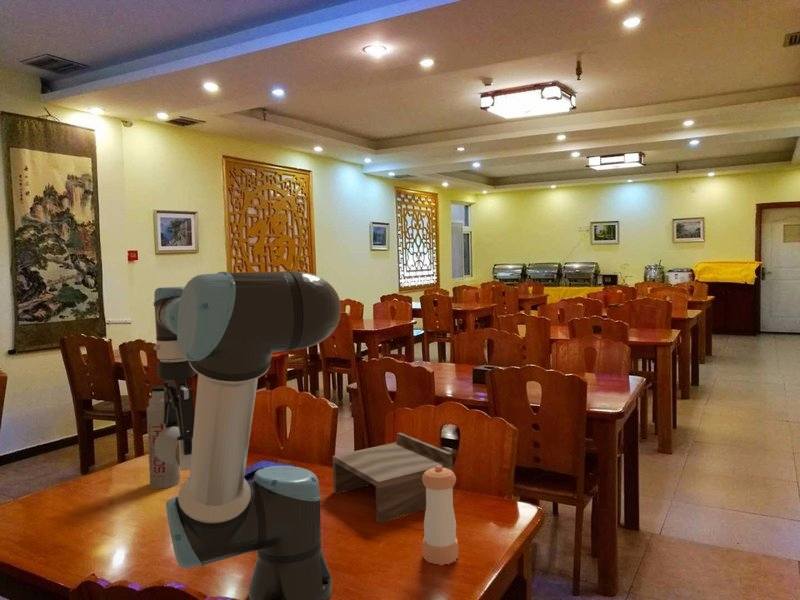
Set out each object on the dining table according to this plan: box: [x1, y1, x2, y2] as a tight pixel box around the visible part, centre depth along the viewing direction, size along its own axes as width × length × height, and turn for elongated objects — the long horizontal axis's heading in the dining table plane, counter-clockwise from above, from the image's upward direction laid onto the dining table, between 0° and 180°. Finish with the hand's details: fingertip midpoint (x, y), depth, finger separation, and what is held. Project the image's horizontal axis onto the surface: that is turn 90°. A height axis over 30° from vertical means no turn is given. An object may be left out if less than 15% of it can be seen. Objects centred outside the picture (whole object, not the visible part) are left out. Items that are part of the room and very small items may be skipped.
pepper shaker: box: [422, 465, 459, 566], centre depth 121 cm, size 7×7×19 cm
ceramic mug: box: [154, 426, 189, 467], centre depth 127 cm, size 11×8×8 cm
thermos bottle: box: [146, 385, 181, 489], centre depth 167 cm, size 8×8×28 cm
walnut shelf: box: [332, 432, 454, 524], centre depth 154 cm, size 24×22×12 cm
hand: (180, 463), depth 126 cm, fingers closed on ceramic mug, 9 cm apart
